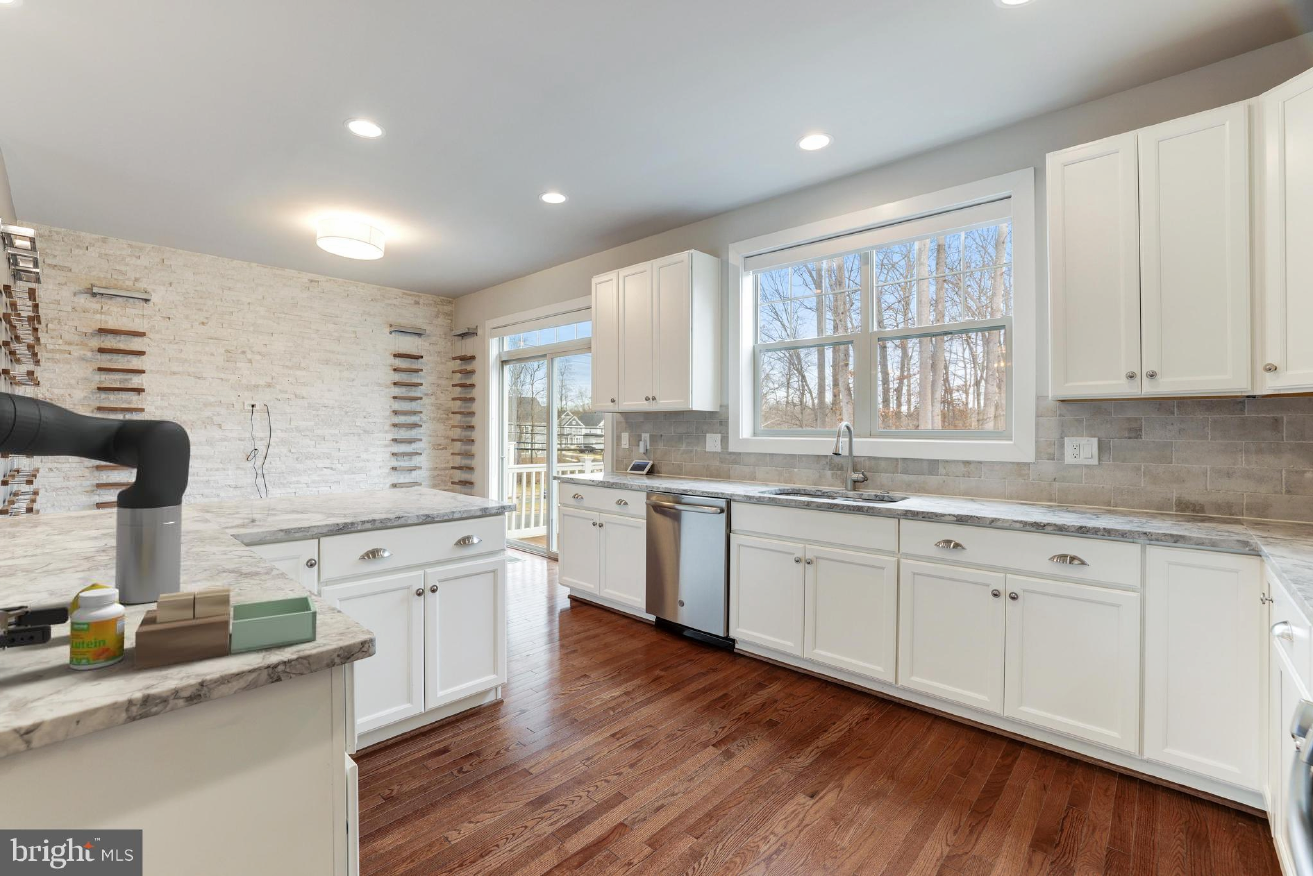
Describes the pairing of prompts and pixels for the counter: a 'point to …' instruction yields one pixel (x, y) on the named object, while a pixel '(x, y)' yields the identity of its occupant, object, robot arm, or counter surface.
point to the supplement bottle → (97, 630)
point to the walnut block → (180, 639)
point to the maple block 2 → (212, 602)
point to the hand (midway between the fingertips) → (59, 623)
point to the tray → (273, 623)
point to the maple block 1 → (176, 606)
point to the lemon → (94, 586)
